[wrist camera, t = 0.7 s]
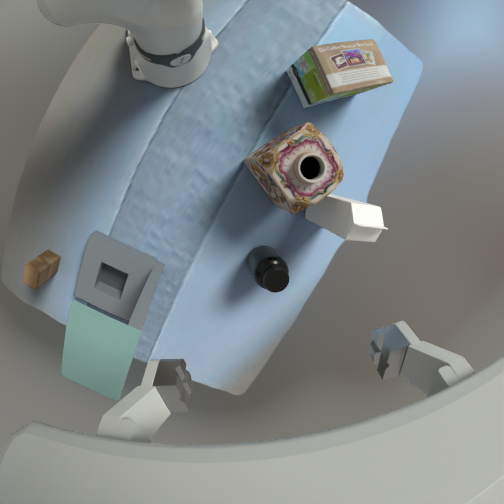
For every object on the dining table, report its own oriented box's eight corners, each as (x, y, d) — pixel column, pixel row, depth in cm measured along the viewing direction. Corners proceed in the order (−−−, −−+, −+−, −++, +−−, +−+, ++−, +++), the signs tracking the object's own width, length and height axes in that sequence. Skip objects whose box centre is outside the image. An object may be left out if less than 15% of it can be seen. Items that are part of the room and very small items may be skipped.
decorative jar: (273, 206, 58) (303, 222, 41) (240, 161, 54) (257, 157, 37) (317, 173, 57) (360, 178, 40) (287, 129, 53) (322, 114, 36)
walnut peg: (45, 264, 52) (22, 281, 41) (47, 249, 51) (24, 265, 41) (57, 271, 53) (35, 290, 43) (60, 256, 52) (38, 273, 42)
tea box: (303, 110, 52) (333, 95, 38) (284, 70, 49) (309, 44, 35) (357, 95, 53) (395, 81, 39) (340, 58, 50) (374, 36, 36)
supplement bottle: (261, 280, 62) (274, 305, 51) (240, 260, 60) (249, 282, 48) (283, 259, 61) (301, 279, 50) (263, 238, 59) (277, 255, 48)
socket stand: (80, 288, 55) (25, 357, 29) (96, 230, 52) (29, 278, 26) (143, 317, 60) (118, 403, 34) (165, 262, 57) (140, 334, 31)
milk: (328, 220, 61) (385, 248, 40) (303, 218, 59) (354, 246, 39) (332, 193, 59) (392, 210, 38) (307, 190, 58) (361, 205, 37)
